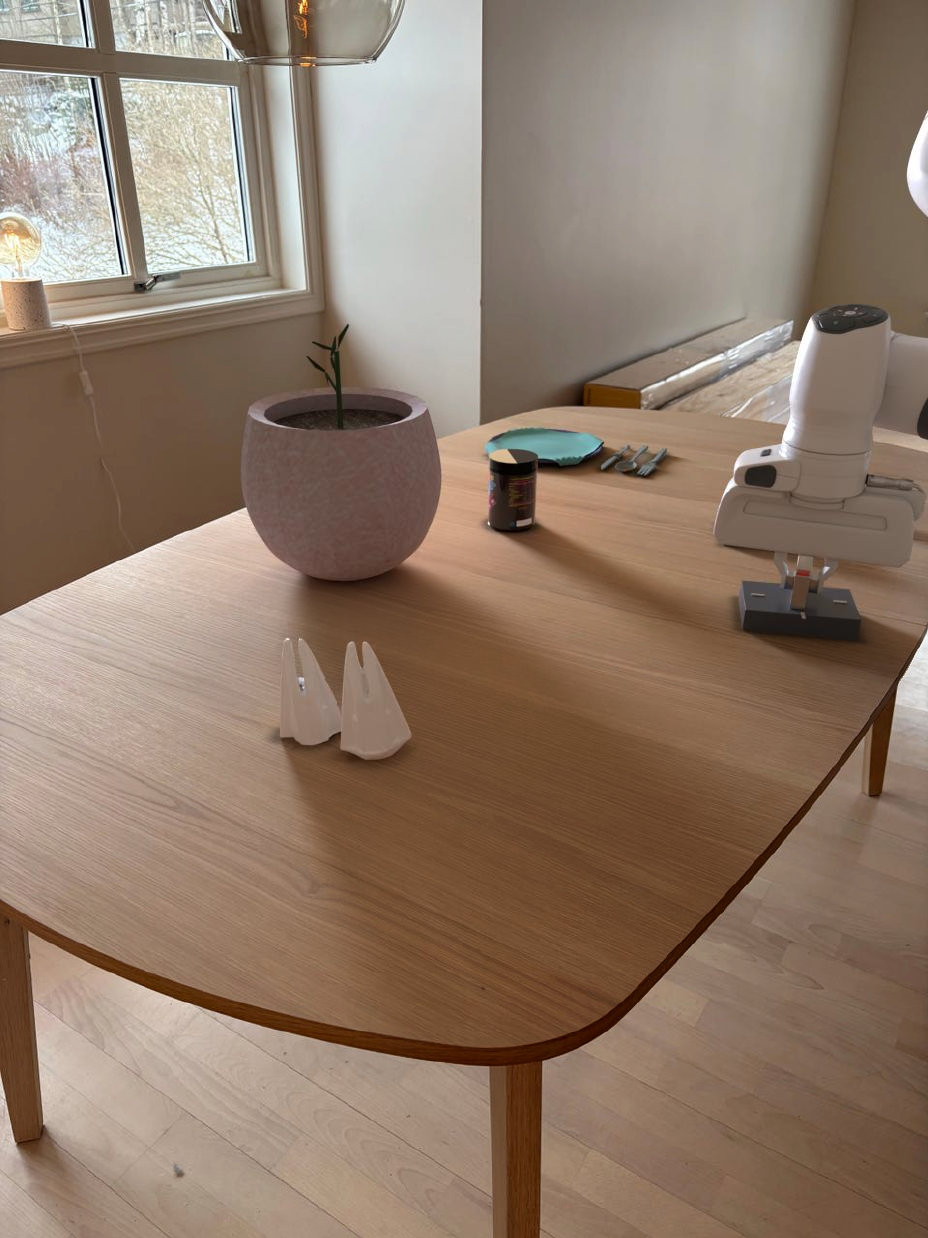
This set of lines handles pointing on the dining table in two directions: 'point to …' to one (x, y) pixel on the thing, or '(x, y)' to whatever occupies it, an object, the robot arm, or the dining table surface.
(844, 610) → the panel
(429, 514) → the plant pot
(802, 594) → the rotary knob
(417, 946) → the dining table surface
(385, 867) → the dining table surface
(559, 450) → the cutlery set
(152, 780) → the dining table surface
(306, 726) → the shaker set
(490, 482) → the supplement container
